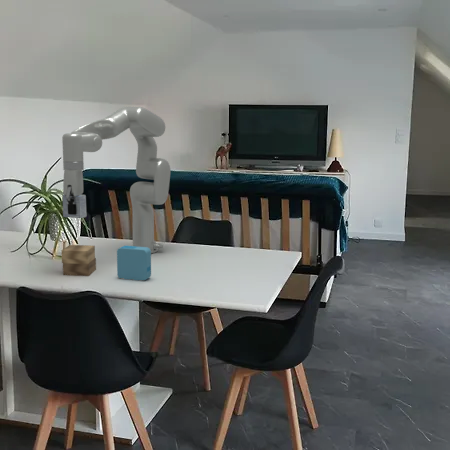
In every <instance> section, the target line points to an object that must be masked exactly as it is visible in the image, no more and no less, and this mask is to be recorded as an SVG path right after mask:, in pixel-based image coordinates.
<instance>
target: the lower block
mask: <svg viewBox="0 0 450 450" xmlns="http://www.w3.org/2000/svg"><path fill="white" fill-rule="evenodd" d="M96 270H97V259H96V257H95V258H94V259H93V260H92V261H91V262H90V263H88V264H70V263H62V274H63V276H74V277H77V276H78V277H79V276H82V277H90V276H91V275H92V274H93V273H94V272H95V271H96Z"/></svg>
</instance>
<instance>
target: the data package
mask: <svg viewBox="0 0 450 450" xmlns="http://www.w3.org/2000/svg"><path fill="white" fill-rule="evenodd" d="M116 268H117V271H116V272H117V273H116V274H117V275H116V276H117V277H118V278H119V279H120V278H124V279H123V280H129V279H134V280H133V281H139V280H145V281H147V279H148V280H149V278H151V276H152V253H151V250H150V249H149V248H148V247H137V246H133V245H123V246H121V247H119V248H117V250H116Z"/></svg>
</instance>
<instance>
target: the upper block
mask: <svg viewBox="0 0 450 450" xmlns="http://www.w3.org/2000/svg"><path fill="white" fill-rule="evenodd" d="M95 250H96V246H95V245H84V244H82V245H80V244H69V245H68V246H66V247H65V248H63V249H62V250H61V264H63V263H70V264H88V263H90V262H91V261H92V260H93V259H94V258H96V251H95Z"/></svg>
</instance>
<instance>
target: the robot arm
mask: <svg viewBox="0 0 450 450" xmlns="http://www.w3.org/2000/svg"><path fill="white" fill-rule="evenodd" d="M128 129H129V130H130V133H131V134H132V135H133V137H134V139H135V140H136V144H137V156H136V165H135V173H136V176H137V177H138V178H140V179H145V180H153V182H150V181H137V182H134V183H133V184H132V185H131V186H130V189H129V195H130V201H131V206H132V207H131V209H132V210H131V211H132V246H137V247H148V248H149V249H150V250H151V254H155V253H157V252H158V249H164V244H163V243H157V241H156V240H155V212H154V208H153V206H152V205H154V206H155V205H156V206H159V205H164V203H166V202H167V200H168V196H169V190H170V183H171V182H170V181H171V180H170V179H171V165H170V163H169V161H167V159H165V158H161V157H158V156H157V155H158V143H156V140H155V139H154V138H159V137H161V136H163V135H164V133H165V132H166V124H165V121H164V119H163V118H162V117H160V116H159V115H158V114H156V113H154V112H153V111H151V110H149V109H147V108H145V107H143V106H142V107H141V106H123V107H121V108H119V109H118V110H116V111H114V112H113V113H111V114H110V115H107V116H106V117H105V118H102V119H99V120H96V121H93V122H90V123H87V124H84V125H82V126H80V127H78V128H76V129H74V130H73V131H71V132H70V133H64V134H63V135H62V140H61V141H62V142H61V143H62V164H63V165H62V166H63V167H62V170H63V171H64V172H63V185H62V186H63V189H62V190H63V191H62V194H63V195H64V196H66V198H67V204H68V214H70V215H76V214H77V212H76V204H75V201H76V196H78V195H83V193H84V176H83V175H84V174H83V171H85V170H84V169H85V168H84V167H85V165H84V152H86V153H95V152H98V151H100V150H101V148H102V147H103V140H109V139H113V138H116V137H118V136H119V135H121V133H124V132H125V131H127V130H128ZM63 195H62V196H63ZM71 195H74V196H71ZM72 198H73V199H72Z"/></svg>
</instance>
